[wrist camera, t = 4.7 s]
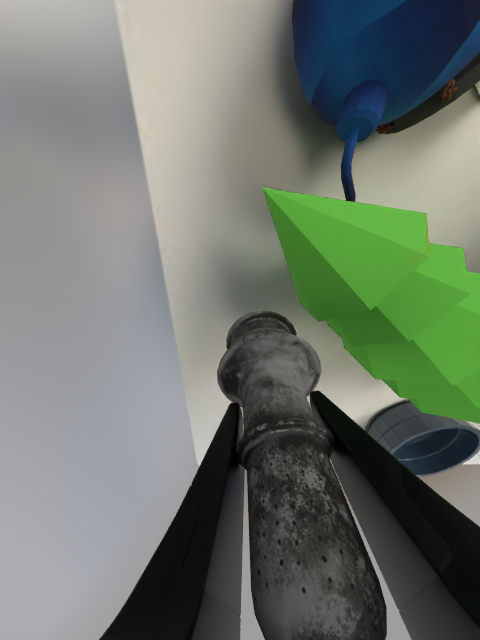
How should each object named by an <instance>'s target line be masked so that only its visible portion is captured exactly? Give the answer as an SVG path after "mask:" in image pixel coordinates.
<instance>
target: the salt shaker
mask: <svg viewBox="0 0 480 640" xmlns="http://www.w3.org/2000/svg"><path fill="white" fill-rule="evenodd" d="M226 341H227V351H226V352H225V354H224V355H223V357H222V358H221V360H220V363H219V367H218V370H217V377H218V384H219V386H220V388H221V391H222V392H223V393H224V395H225V396H226V397H227V398H228V399H229V400H230V401H232V402H233V403H235V402H238V403H239V405H240V407H242V408H243V416H244V436H243V437H242V438H241V439H240V441H239V443H238V445H237V451H236V454H237V458H238V461H239V463H240V465H242V466H243V467H244V468H245V469H246V470H247V484H248V512H249V541H250V568H251V569H250V571H251V592H252V599H253V605H254V612H255V616H256V619H257V621H258V623H259V626H260V628H261V631H262V633H263V636H264V638H265V640H385V638H386V635H387V623H386V621H387V619H386V604H385V600H384V597H383V594H382V590H381V586H380V582H379V579H378V577H377V575H376V572H375V570H374V567H373V565H372V563H371V560H370V557H369V555H368V552H367V550H366V548H365V545H364V543H363V540H362V538H361V535H360V533H359V530H358V528H357V525H356V523H355V521H354V518H353V516H352V513H351V511H350V508H349V506H348V504H347V501H346V498H345V496H344V494H343V491H342V489H341V486H340V484H339V481H338V479H337V476H336V474H335V471H334V469H333V466H332V464H331V462H330V458H331V456H332V453H333V451H334V440H333V438H332V436H331V434H330V433H329V431H327V430H326V429H325V428H324V427H322V426H321V425H318V424H317V422H316V420H315V417H314V415H313V413H312V410H311V408H310V405H309V403H308V401H307V398H306V397H307V396H308V395H310V392H312V391H313V390H314V388H315V387H316V385H317V383H318V381H319V377H320V374H321V366H320V360H319V358H318V356H317V354H316V351H315V350H314V349H313V348H312V347H311V346H310V345H309V344H308V343H307V342H306V341H304V340H302V339H301V338H299V337H297V335H296V331H295V329H294V327H293V325H292V323H291V322H290V321H289V320H288V319H287V318H286V317H284V316H282V315H280V314H279V313H275V312H271V311H256V312H252V313H248V314H246V315H244V316H242V317H241V318H239V319H238V320H237V321H236V322H235V323H234V324H233V325H232V327H231V328H230V330H229V332H228V336H227V339H226Z"/></svg>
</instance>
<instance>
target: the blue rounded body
mask: <svg viewBox="0 0 480 640" xmlns="http://www.w3.org/2000/svg"><path fill="white" fill-rule="evenodd" d="M292 25H293V44H294V59H295V63H296V68H297V72H298V76H299V80H300V84H301V88H302V91H303V93H304V95H305V97H306V99H307V101H308V102H309V104H310V106H311V108H312V109H313V110H314V111H315V112H316V114H317V115H318V116H319V117H320V118H321V119H322V120H324V121H325V122H327V123H329V124H330V125H332V126H334V127H335V128H336V133H337V135H338V137H339V138H340V140H342V141H344V142H346V145H345V148H344V153H343V158H342V163H341V179H342V184H343V188H344V193H345V197H346V201H351V202H355V196H356V195H355V190H354V185H353V179H352V174H351V162H352V157H353V153H354V148H355V145H356V143H357V142H360V141H363V140H365V139H366V138H368V137H369V136H370V135H371V134H373V133H374V132H375V131H376V132H378V133H379V134H383V133H385V134H390V133H396V132H399V131H401V130H404V129H406V128H408V127H411V126H413V125H415V124H417V123H419V122H420V121H422V120H424V119H426V118H428V117H430V116H431V115H433V114H435V113H436V112H438V111H439V110H441V109H442V108H444V107H445V106H447V105H448V104H450V103H452V102H453V101H455V100H456V99H457V98H459V97H460V96H461V95H462V94H464V93H465V92H466V91H468V90H469V89H470V88H471V87H473V86H474V85H475V84H476V83H478V82H479V81H480V0H293V11H292ZM377 128H378V129H377Z"/></svg>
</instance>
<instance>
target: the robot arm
mask: <svg viewBox="0 0 480 640" xmlns="http://www.w3.org/2000/svg"><path fill="white" fill-rule="evenodd" d="M310 405H311V409H312V412H313V415H314V417H315V420H316V422H317V424H318V425H321V426H322V427H324V428H325V429H326V430H327V431H329V433H330V434H331V436H332V438H333V440H334V451H333V453H332V456H331V458H330V460H331V462H332V464H333V466H334V469H335V471H336V473H337V475H338V477H339V480H340V482H341V484H342V486H343V489H344V491H345V493H346V495H347V497H348V500H349V502H350V504H351V506H352V508H353V511H354V513H355V515H356V517H357V519H358V522H359V524H360V526H361V528H362V530H363V533H364V535H365V537H366V539H367V542H368V544H369V546H370V548H371V550H372V553H373V555H374V557H375V559H376V562H377V564H378V565H379V568H380V570H381V573H382V575H383V577H384V579H385V581H386V584H387V586H388V588H389V590H390V592H391V595H392V597H393V599H394V601H395V604H396V606H397V608H398V609H399V612H400V615H401V617H402V619H403V621H404V624H405V626H406V628H407V630H408V633H409V635H410V637H411V639H412V640H480V527H479V526H478V525H477V524H476V523H474V522H473V521H472V520H470V519H469V518H468V517H466V516H465V515H464V514H463V513H461V512H460V511H459V510H457V509H456V508H455V507H454V506H453V505H451V504H450V503H449V502H447V501H446V500H445V499H444V498H442V497H441V496H440V495H438V494H437V493H436V492H435V491H434V490H433V489H431V488H430V487H429V486H428V485H427V484H426V483H424V482H423V481H422V480H421V479H420V478H418V477H417V476H416V475H415V474H414V473H413V472H411V471H410V470H409V469H408V468H407V467H406V466H405V465H404V464H402V463H401V464H400V461H399V460H398V459H397V458H395V457H394V456H393V455H392V454H391V453H390V452H389V451H387V450H386V449H385V448H384V447H383V446H382V445H381V444H379V443H378V442H377V441H376V440H375V439H374V438H373V437H371V436H370V435H369V434H368V433H367V432H366V431H365V430H363V429H362V428H361V427H360V426H359V425H358V424H357V423H355V422H354V421H353V420H352V419H351V418H350V417H349V416H347V415H346V414H345V413H344V412H343V411H342V410H341V409H339V408H338V407H337V406H336V405H335V404H334V403H333V402H331V401H330V400H329V399H328V398H327V397H326V396H325V395H323V394H322V393H321V392H320V391H312V392H310ZM243 436H244V432H243V418H242V412H241V409H240V405H239V403H238V402H235V403H231V404H230V405H229V407H228V409H227V411H226V413H225V415H224V417H223V419H222V421H221V423H220V425H219V427H218V430H217V432H216V434H215V436H214V438H213V440H212V442H211V444H210V446H209V448H208V450H207V452H206V454H205V457H204V459H203V461H202V463H201V465H200V467H199V469H198V471H197V474H196V475H195V477H194V479H193V482H192V486H190V488H189V490H188V492H187V494H186V496H185V498H184V500H183V502H182V504H181V506H180V508H179V510H178V512H177V514H176V516H175V518H174V519H173V521H172V523H171V525H170V527H169V528H168V530H167V532H166V534H165V536H164V537H163V539H162V541H161V543H160V545H159V546H158V548H157V550H156V551H155V553H154V555H153V556H152V558H151V560H150V562H149V563H148V565H147V567H146V569H145V570H144V572H143V574H142V576H141V577H140V579H139V581H138V582H137V584H136V586H135V588H134V589H133V591H132V593H131V595H130V596H129V598H128V600H127V601H126V603H125V604H124V606H123V607H122V609H121V611H120V612H119V614H118V615H117V616H116V618H115V619H114V621H113V622H112V624H111V625H110V627H109V628H108V629H107V630H106V632H105V633H104V634H103V636H102V637H101V638H100V639H99V640H240V614H241V580H242V544H243V507H244V470H245V468H244V467H243V466H242V465H240V463H239V461H238V458H237V454H236V451H237V445H238V443H239V441H240V439H241V438H242V437H243Z"/></svg>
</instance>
